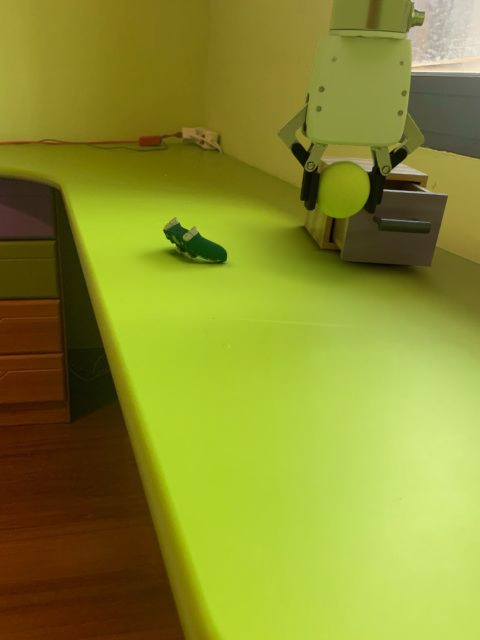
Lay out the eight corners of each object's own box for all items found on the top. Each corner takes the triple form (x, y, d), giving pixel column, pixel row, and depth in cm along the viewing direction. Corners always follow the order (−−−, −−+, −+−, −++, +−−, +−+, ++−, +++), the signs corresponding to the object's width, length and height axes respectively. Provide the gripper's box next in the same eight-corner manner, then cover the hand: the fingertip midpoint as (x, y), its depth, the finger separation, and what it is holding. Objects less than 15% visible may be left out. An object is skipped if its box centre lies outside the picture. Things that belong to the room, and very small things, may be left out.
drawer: (442, 276, 85) (461, 201, 81) (348, 270, 85) (363, 195, 81) (399, 240, 102) (413, 177, 98) (320, 235, 102) (331, 172, 98)
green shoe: (180, 260, 95) (153, 230, 91) (198, 239, 95) (173, 208, 91) (212, 278, 88) (185, 247, 84) (232, 256, 87) (206, 223, 84)
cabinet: (410, 254, 98) (428, 175, 93) (321, 248, 98) (334, 168, 93) (381, 231, 112) (396, 160, 107) (303, 225, 112) (314, 155, 107)
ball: (358, 213, 79) (367, 158, 77) (370, 224, 74) (381, 165, 71) (306, 211, 79) (313, 155, 77) (315, 221, 74) (323, 162, 71)
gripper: (443, 27, 71) (406, 207, 80) (277, 19, 71) (257, 199, 80) (470, 24, 65) (426, 220, 73) (286, 15, 65) (264, 212, 73)
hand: (338, 208), depth 76 cm, fingers closed on ball, 5 cm apart
